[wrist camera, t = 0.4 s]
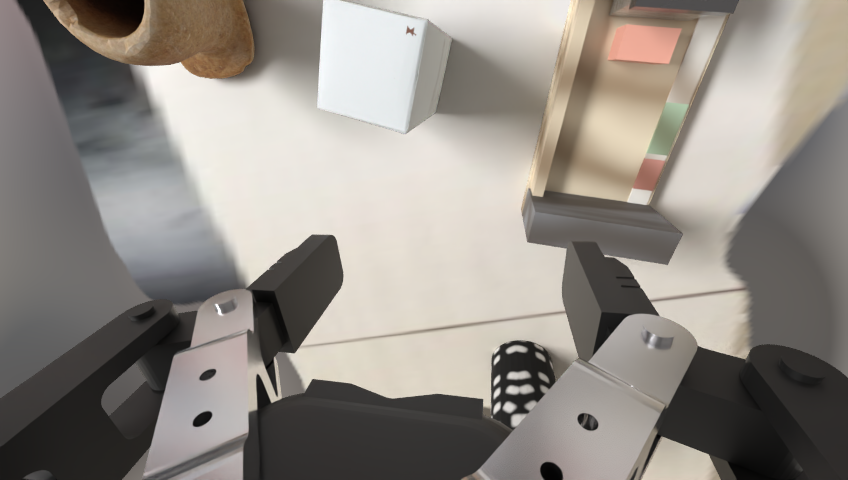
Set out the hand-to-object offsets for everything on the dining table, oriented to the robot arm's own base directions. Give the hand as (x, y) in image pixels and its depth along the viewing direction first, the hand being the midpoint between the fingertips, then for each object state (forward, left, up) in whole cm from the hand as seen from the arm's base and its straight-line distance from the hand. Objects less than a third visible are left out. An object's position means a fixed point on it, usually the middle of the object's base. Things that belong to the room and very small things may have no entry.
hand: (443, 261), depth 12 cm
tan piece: (-11, -29, -27) cm, 41 cm away
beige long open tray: (-7, +12, -27) cm, 30 cm away
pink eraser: (-9, +12, -26) cm, 30 cm away
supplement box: (-6, -8, -27) cm, 29 cm away
